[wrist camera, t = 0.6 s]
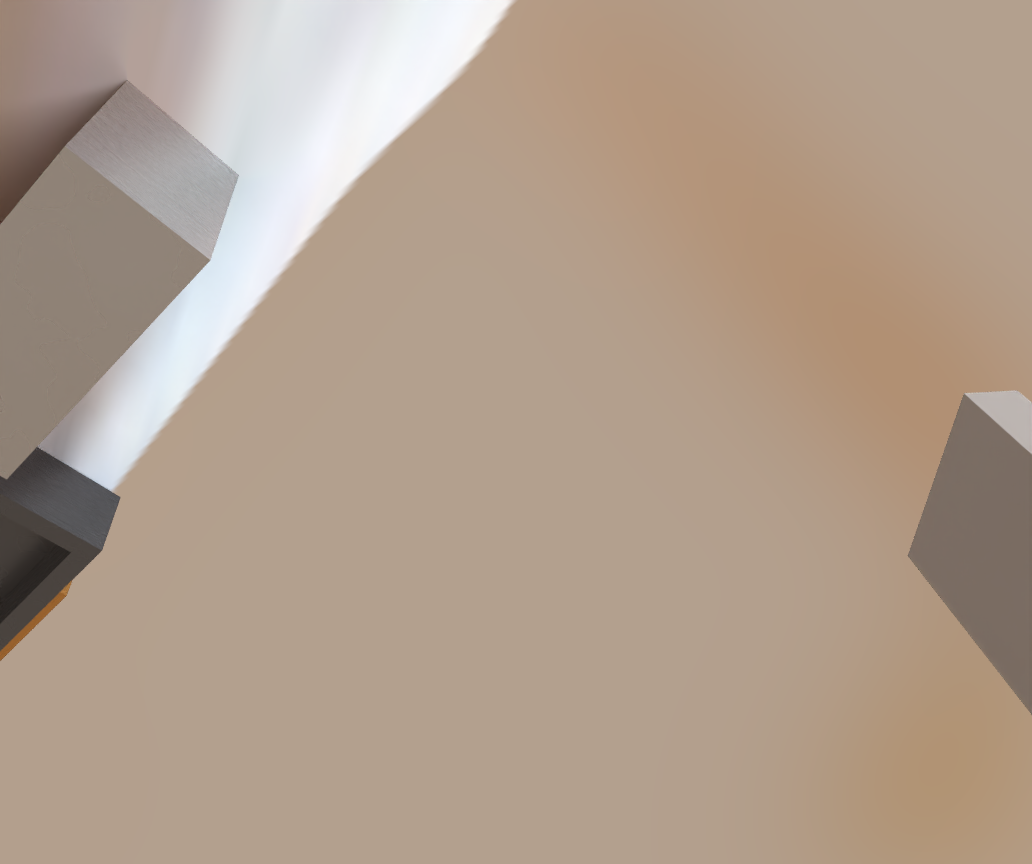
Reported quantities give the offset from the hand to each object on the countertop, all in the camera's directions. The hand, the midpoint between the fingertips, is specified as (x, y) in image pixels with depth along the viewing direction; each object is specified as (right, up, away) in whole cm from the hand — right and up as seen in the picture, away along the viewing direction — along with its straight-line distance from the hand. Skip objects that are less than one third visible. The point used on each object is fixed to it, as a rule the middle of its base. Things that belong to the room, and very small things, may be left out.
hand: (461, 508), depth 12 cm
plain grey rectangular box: (-14, +8, +21) cm, 27 cm away
